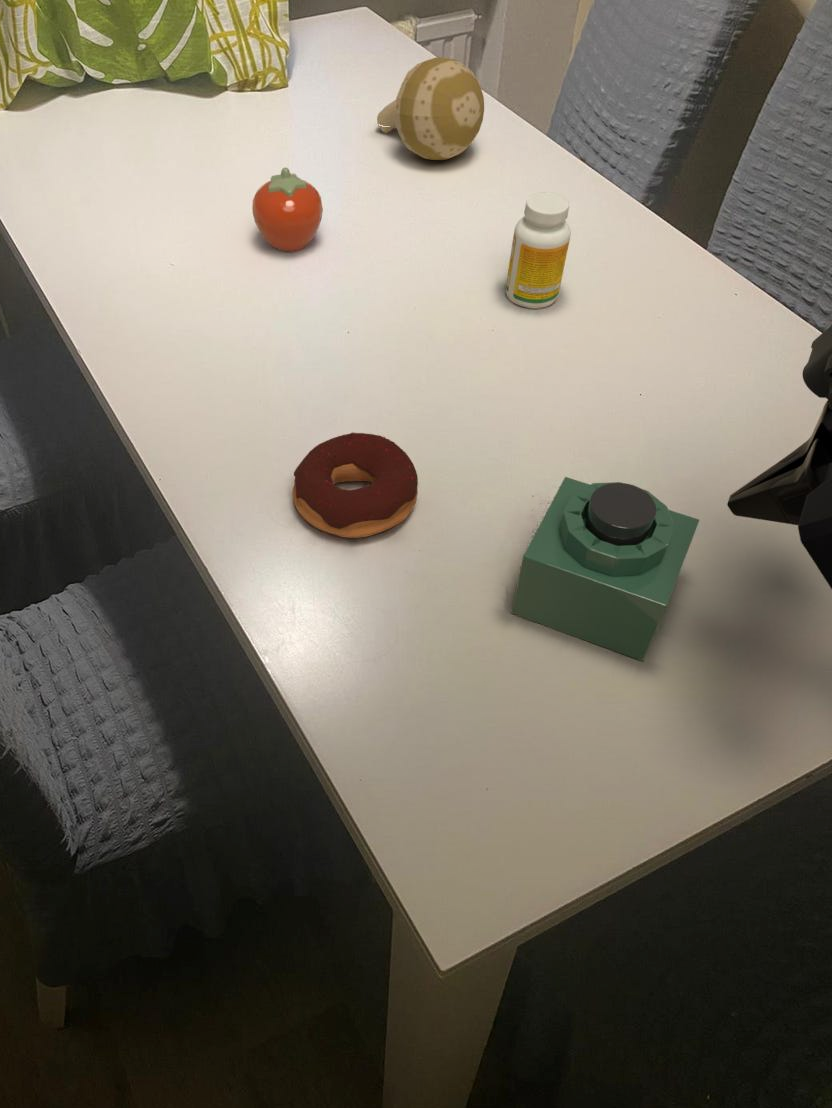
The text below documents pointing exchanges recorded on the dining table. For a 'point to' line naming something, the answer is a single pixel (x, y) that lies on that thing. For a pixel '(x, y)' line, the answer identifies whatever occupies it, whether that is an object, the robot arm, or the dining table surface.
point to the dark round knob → (620, 514)
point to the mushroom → (436, 109)
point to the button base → (601, 574)
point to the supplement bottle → (539, 251)
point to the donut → (361, 506)
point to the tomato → (287, 211)
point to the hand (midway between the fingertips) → (731, 505)
